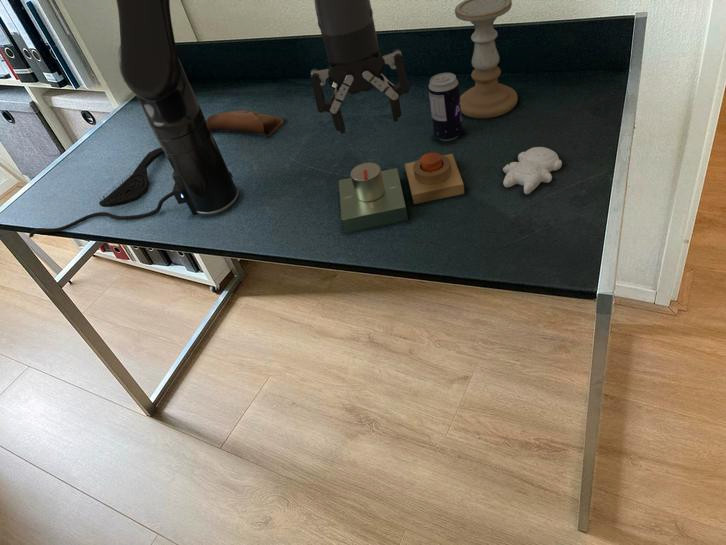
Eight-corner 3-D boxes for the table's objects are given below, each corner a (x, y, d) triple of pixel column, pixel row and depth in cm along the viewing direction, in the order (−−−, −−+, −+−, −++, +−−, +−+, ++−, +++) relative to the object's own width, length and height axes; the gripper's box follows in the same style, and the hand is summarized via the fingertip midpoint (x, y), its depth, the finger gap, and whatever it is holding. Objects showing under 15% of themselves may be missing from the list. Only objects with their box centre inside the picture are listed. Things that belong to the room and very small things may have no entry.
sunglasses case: (286, 117, 126) (270, 102, 120) (277, 144, 125) (261, 130, 119) (228, 113, 134) (211, 99, 129) (219, 139, 133) (202, 126, 127)
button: (423, 174, 93) (422, 165, 92) (420, 163, 96) (419, 154, 95) (443, 169, 93) (442, 161, 92) (440, 158, 96) (439, 150, 94)
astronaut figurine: (490, 183, 93) (489, 169, 91) (529, 149, 98) (529, 134, 96) (534, 199, 88) (534, 184, 86) (573, 162, 93) (574, 147, 91)
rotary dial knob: (355, 187, 96) (349, 164, 92) (383, 181, 95) (378, 158, 92) (356, 204, 92) (350, 181, 89) (386, 198, 91) (381, 175, 88)
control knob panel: (345, 233, 92) (341, 219, 90) (342, 193, 101) (338, 179, 98) (408, 220, 91) (405, 205, 89) (399, 181, 100) (397, 166, 97)
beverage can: (462, 142, 105) (457, 84, 96) (433, 144, 106) (425, 87, 98) (463, 126, 108) (459, 70, 100) (435, 129, 110) (429, 73, 102)
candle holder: (528, 94, 112) (529, -7, 98) (498, 123, 107) (495, 20, 93) (477, 86, 119) (471, -10, 105) (446, 113, 114) (436, 15, 100)
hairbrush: (175, 137, 125) (119, 199, 108) (182, 151, 128) (128, 214, 110) (146, 140, 128) (85, 201, 110) (153, 154, 130) (95, 215, 112)
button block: (413, 204, 94) (410, 186, 91) (406, 173, 101) (403, 155, 98) (464, 194, 93) (462, 175, 90) (453, 163, 100) (451, 144, 97)
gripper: (393, 0, 76) (410, 104, 87) (297, 24, 77) (325, 123, 88) (399, 18, 71) (416, 127, 82) (295, 43, 72) (326, 147, 83)
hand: (369, 125), depth 85 cm, fingers open, 8 cm apart
